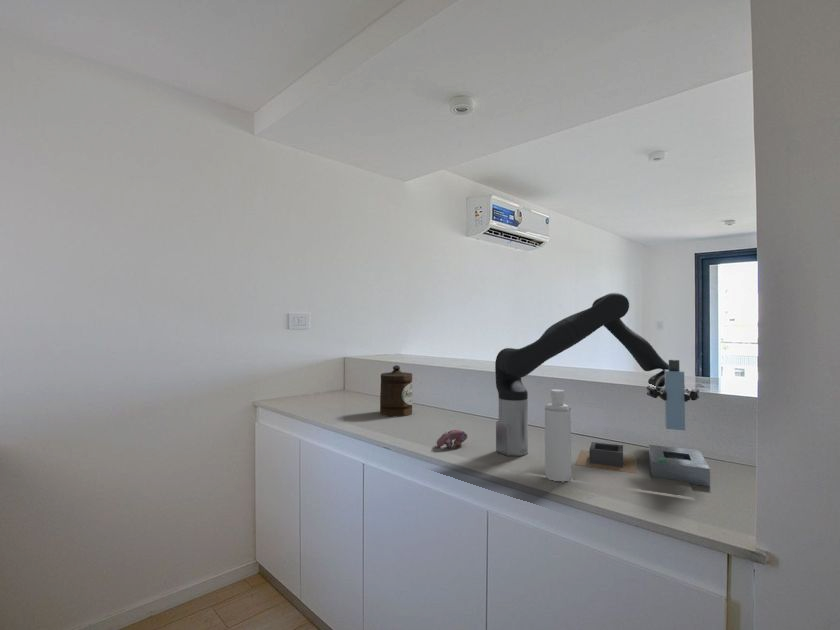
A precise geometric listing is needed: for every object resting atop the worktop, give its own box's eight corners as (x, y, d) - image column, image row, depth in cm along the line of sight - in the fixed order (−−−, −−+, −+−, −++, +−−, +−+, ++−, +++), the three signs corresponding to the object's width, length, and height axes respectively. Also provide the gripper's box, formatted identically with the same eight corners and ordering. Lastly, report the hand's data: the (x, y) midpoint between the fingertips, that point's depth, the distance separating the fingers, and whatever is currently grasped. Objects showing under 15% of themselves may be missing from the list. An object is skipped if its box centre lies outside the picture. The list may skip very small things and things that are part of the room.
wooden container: (411, 416, 192) (411, 367, 193) (378, 416, 192) (378, 367, 193) (412, 410, 207) (412, 364, 207) (381, 410, 207) (381, 363, 208)
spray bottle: (567, 484, 112) (567, 386, 112) (542, 479, 115) (541, 384, 116) (573, 476, 117) (573, 383, 118) (549, 471, 121) (548, 382, 121)
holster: (637, 475, 118) (637, 458, 118) (575, 466, 125) (575, 450, 125) (636, 458, 132) (636, 443, 133) (580, 452, 139) (580, 437, 139)
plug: (685, 430, 119) (684, 361, 119) (666, 428, 121) (665, 360, 121) (683, 426, 123) (682, 359, 123) (665, 425, 125) (664, 359, 125)
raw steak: (440, 453, 143) (446, 436, 140) (434, 444, 147) (439, 427, 144) (465, 449, 148) (471, 433, 145) (458, 440, 151) (464, 424, 149)
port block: (710, 486, 110) (709, 467, 110) (652, 478, 116) (651, 460, 116) (699, 465, 126) (699, 449, 126) (649, 459, 132) (649, 443, 132)
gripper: (643, 375, 138) (646, 382, 122) (696, 377, 132) (706, 385, 116) (644, 398, 138) (646, 408, 122) (696, 402, 132) (706, 413, 116)
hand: (675, 397), depth 119 cm, fingers closed on plug, 4 cm apart
